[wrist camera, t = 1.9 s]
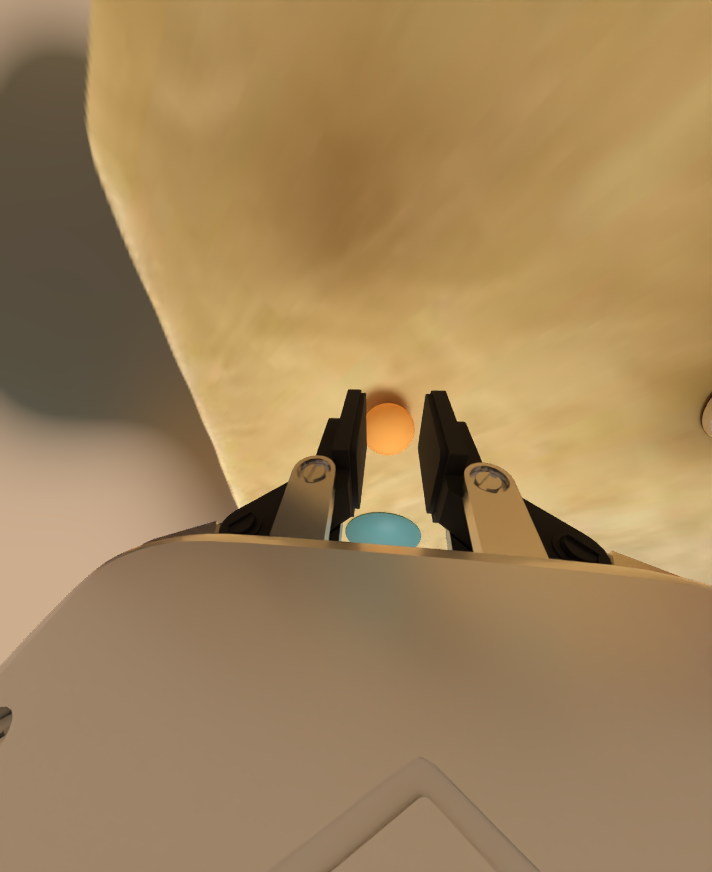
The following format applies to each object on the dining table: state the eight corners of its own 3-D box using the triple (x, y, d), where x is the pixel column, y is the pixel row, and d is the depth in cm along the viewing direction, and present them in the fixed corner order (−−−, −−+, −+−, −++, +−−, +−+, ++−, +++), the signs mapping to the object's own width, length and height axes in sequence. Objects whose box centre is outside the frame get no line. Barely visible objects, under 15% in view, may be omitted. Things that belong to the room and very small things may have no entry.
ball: (414, 393, 27) (419, 423, 22) (410, 434, 30) (413, 467, 26) (363, 393, 27) (358, 421, 23) (364, 433, 31) (360, 465, 26)
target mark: (425, 515, 39) (425, 516, 39) (416, 556, 47) (416, 557, 47) (343, 509, 41) (343, 511, 41) (348, 550, 49) (347, 551, 48)
